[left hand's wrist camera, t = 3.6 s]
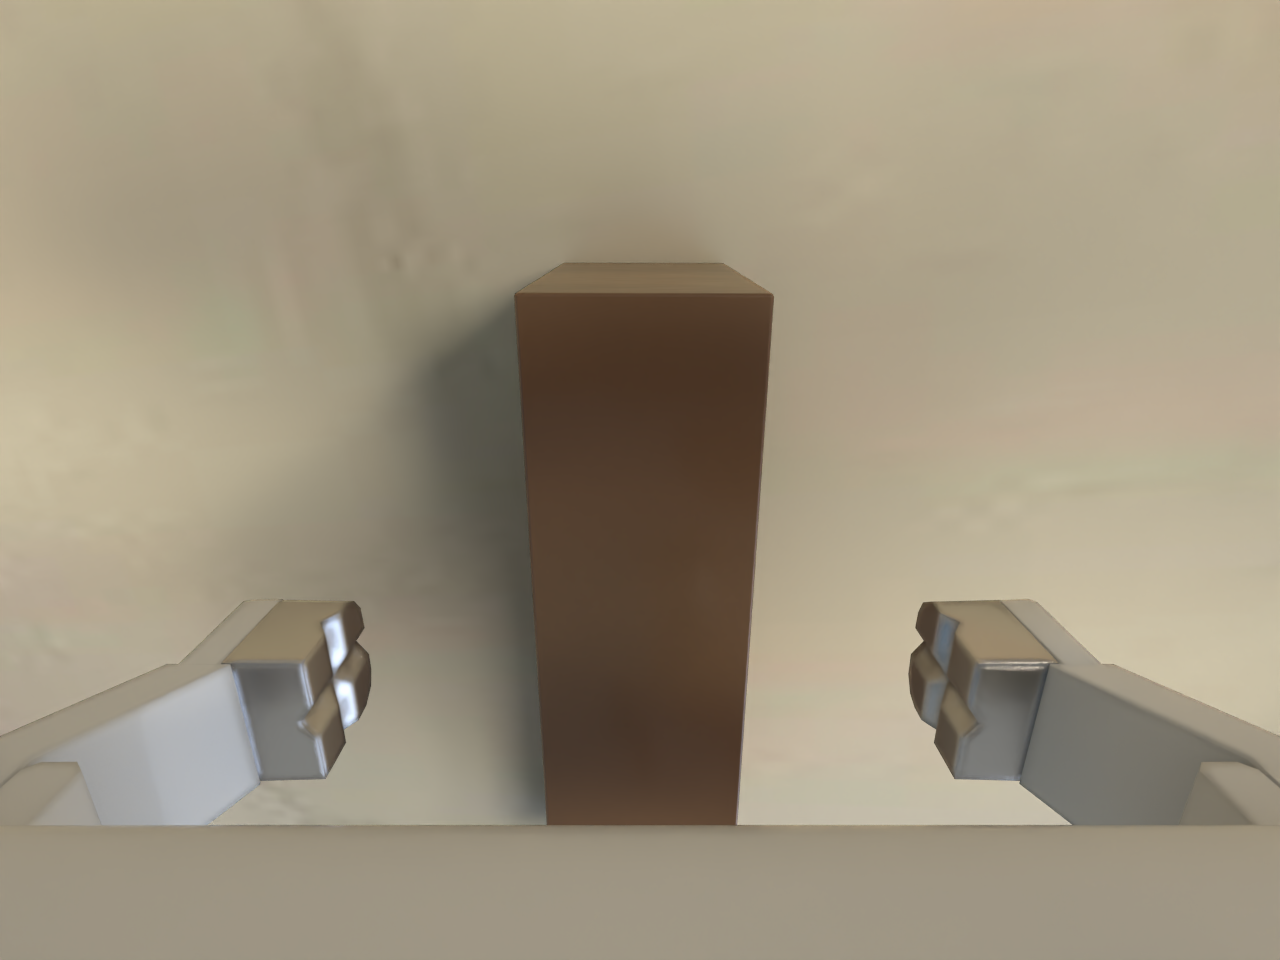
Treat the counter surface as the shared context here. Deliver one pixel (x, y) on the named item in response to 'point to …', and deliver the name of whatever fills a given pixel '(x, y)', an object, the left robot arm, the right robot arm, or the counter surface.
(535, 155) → the counter surface
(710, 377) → the box
